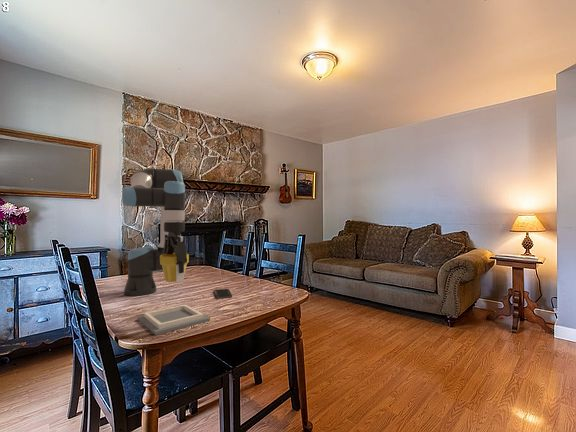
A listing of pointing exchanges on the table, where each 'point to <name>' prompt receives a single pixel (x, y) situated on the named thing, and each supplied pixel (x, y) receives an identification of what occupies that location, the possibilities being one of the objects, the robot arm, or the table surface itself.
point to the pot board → (172, 319)
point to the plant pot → (170, 266)
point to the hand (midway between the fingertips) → (174, 279)
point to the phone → (222, 293)
